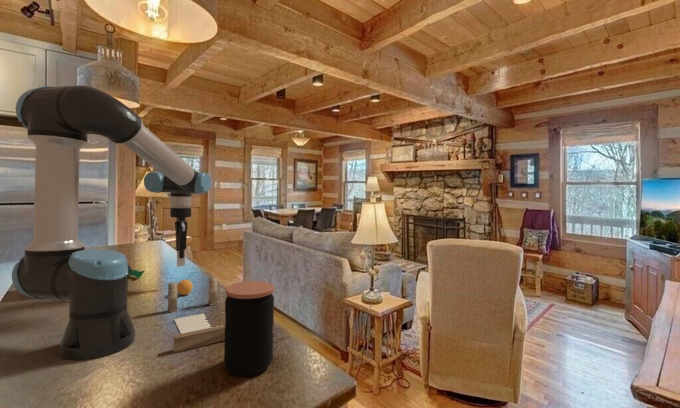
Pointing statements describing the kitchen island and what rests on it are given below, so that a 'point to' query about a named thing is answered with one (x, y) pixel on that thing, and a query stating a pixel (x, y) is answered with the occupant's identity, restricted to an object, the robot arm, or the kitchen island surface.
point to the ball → (184, 287)
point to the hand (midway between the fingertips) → (181, 265)
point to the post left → (172, 297)
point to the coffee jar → (248, 327)
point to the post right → (212, 290)
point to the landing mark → (192, 323)
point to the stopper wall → (198, 338)
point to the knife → (134, 272)
